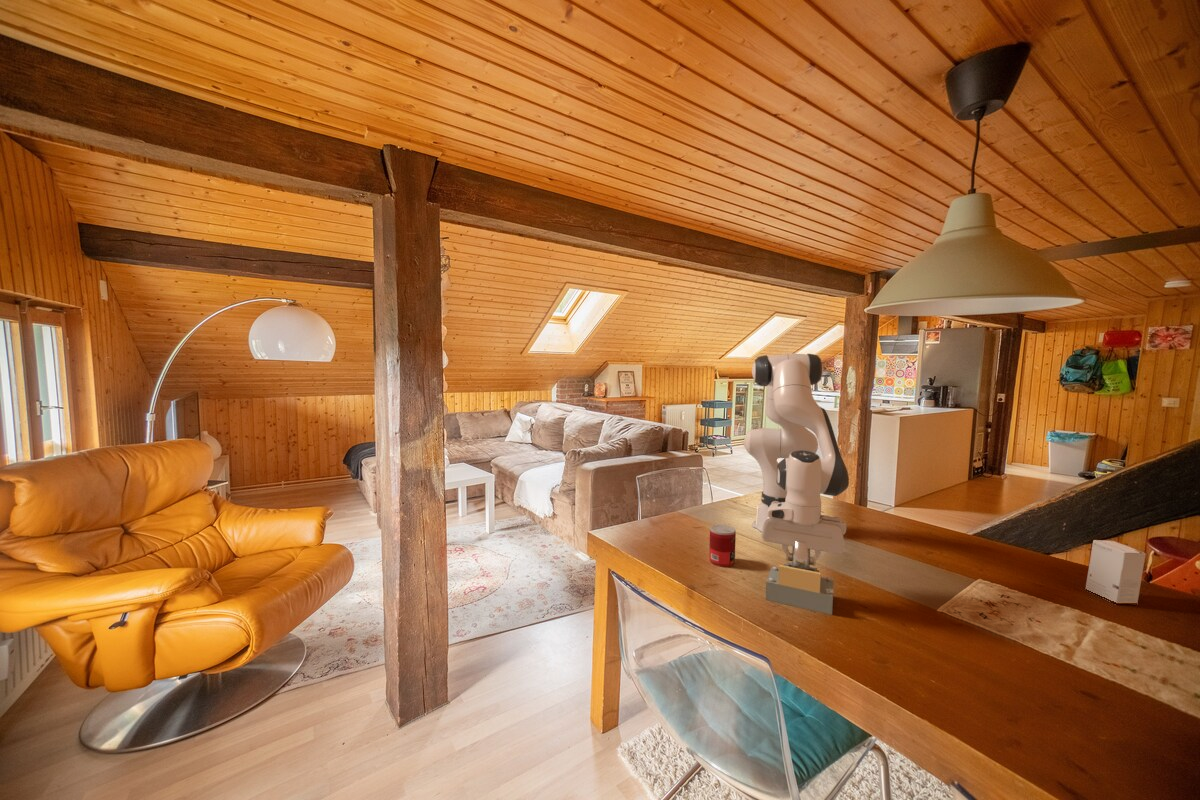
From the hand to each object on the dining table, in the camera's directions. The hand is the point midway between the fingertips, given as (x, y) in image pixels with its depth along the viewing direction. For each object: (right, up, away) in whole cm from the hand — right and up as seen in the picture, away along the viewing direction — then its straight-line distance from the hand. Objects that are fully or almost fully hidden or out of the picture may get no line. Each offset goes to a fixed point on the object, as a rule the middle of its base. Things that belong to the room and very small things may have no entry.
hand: (800, 562), depth 124 cm
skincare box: (+85, -10, +1) cm, 86 cm away
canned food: (-15, -8, +24) cm, 29 cm away
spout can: (0, -4, 0) cm, 4 cm away
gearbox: (0, -10, +1) cm, 10 cm away
